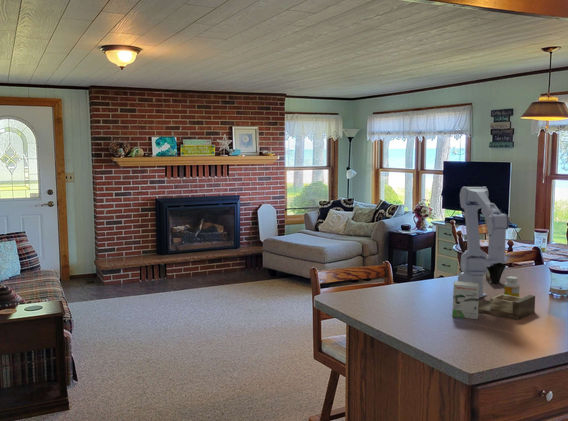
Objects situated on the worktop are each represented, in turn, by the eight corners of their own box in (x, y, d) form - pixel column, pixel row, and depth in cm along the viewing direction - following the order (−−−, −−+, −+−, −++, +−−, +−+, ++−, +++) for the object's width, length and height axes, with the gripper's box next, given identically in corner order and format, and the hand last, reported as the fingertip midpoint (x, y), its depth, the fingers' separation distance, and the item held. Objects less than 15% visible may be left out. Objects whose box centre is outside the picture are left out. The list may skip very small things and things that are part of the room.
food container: (504, 285, 240) (505, 263, 239) (489, 285, 241) (490, 262, 240) (499, 279, 252) (500, 258, 251) (485, 279, 253) (486, 257, 252)
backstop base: (465, 308, 202) (466, 292, 201) (483, 302, 212) (483, 286, 211) (518, 319, 188) (519, 302, 188) (534, 312, 198) (535, 295, 197)
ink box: (452, 317, 191) (453, 283, 190) (452, 313, 196) (453, 280, 195) (478, 319, 189) (479, 285, 188) (477, 315, 194) (479, 282, 192)
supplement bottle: (501, 300, 214) (502, 276, 213) (514, 300, 215) (515, 275, 214) (508, 304, 209) (509, 279, 208) (521, 303, 209) (522, 278, 209)
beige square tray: (489, 308, 198) (490, 298, 197) (500, 304, 204) (501, 293, 204) (514, 313, 191) (515, 302, 191) (525, 309, 198) (525, 298, 197)
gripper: (497, 250, 191) (496, 288, 193) (516, 246, 201) (515, 282, 202) (478, 248, 197) (477, 285, 198) (498, 244, 206) (496, 279, 208)
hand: (495, 283), depth 200 cm, fingers closed
